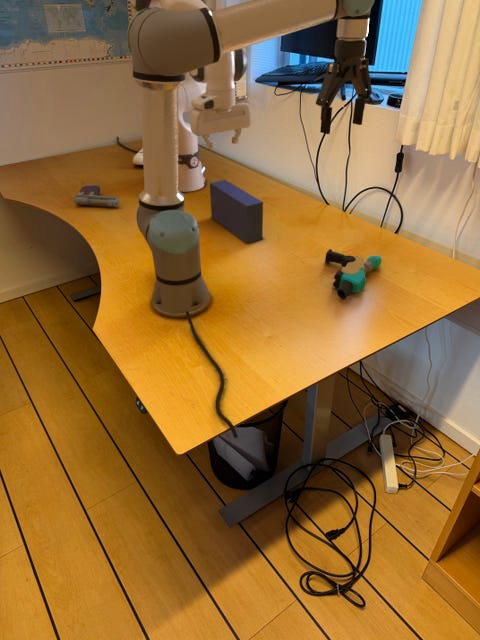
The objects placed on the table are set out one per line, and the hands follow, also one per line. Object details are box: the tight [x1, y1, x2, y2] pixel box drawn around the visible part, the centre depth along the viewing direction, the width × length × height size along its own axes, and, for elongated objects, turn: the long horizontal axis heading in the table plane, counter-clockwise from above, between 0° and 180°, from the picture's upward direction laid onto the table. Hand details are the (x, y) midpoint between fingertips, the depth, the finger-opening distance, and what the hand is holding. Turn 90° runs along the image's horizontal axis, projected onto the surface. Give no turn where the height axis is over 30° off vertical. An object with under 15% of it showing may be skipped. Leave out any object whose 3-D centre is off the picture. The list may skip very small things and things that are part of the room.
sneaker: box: [132, 146, 143, 166], centre depth 220 cm, size 10×29×12 cm, turn 163°
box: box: [209, 179, 264, 244], centre depth 158 cm, size 24×6×13 cm, turn 31°
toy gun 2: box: [324, 248, 383, 301], centre depth 133 cm, size 4×26×15 cm
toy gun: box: [73, 184, 120, 208], centre depth 181 cm, size 4×19×15 cm
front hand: (341, 128), depth 130 cm, fingers open, 13 cm apart
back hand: (222, 145), depth 152 cm, fingers open, 8 cm apart
